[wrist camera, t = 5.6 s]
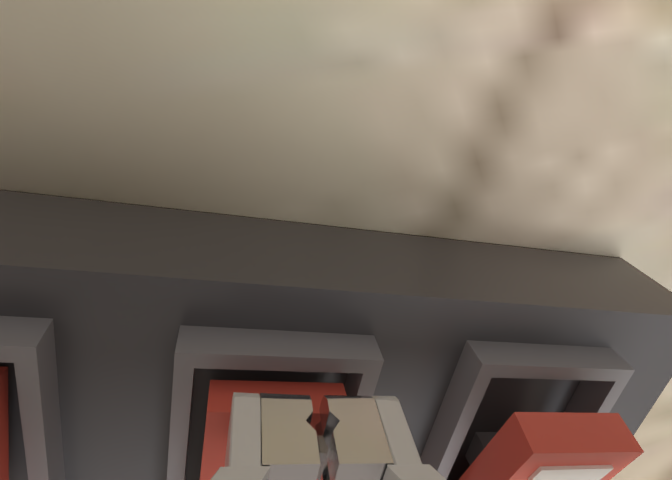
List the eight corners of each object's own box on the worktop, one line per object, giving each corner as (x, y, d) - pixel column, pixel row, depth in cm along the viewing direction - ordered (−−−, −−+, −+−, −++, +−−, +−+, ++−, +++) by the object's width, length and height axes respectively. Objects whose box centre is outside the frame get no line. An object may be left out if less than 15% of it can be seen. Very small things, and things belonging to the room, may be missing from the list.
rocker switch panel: (-312, 469, 14) (-534, 655, 10) (-506, 134, 9) (-1029, 226, 6) (518, 456, 20) (582, 562, 16) (621, 258, 16) (739, 338, 12)
